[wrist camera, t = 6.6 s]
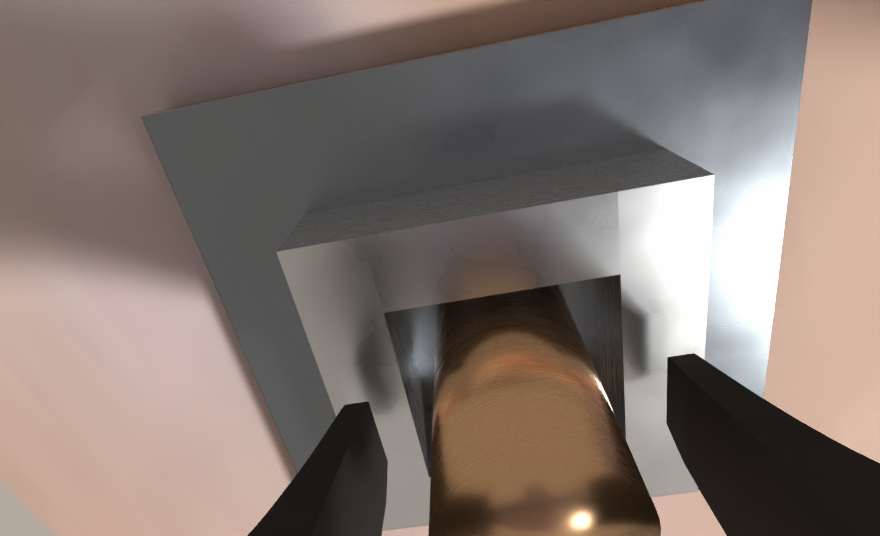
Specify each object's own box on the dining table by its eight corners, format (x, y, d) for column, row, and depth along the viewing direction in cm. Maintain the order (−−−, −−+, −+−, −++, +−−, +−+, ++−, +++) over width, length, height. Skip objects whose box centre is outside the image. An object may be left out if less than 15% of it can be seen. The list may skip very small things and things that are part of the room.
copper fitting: (570, 260, 14) (673, 453, 8) (568, 374, 16) (649, 607, 9) (429, 271, 14) (415, 468, 8) (442, 382, 16) (439, 616, 10)
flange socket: (786, -18, 12) (911, -35, 9) (737, 461, 19) (797, 548, 16) (161, 110, 13) (73, 136, 10) (330, 513, 20) (309, 604, 17)
